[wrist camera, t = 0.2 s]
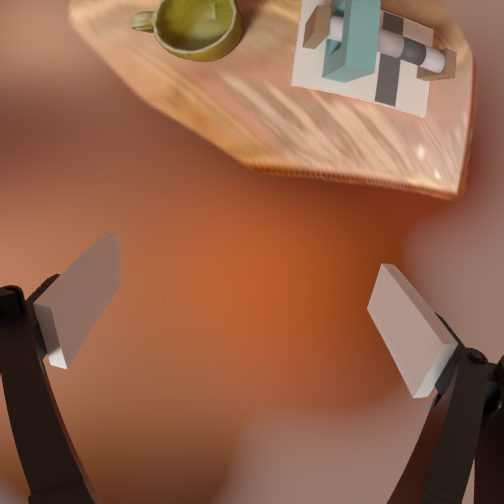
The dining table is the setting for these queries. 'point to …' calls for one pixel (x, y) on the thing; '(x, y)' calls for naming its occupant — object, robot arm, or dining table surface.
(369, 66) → the collar
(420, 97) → the pipe rail
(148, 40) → the dining table surface
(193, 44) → the mug
